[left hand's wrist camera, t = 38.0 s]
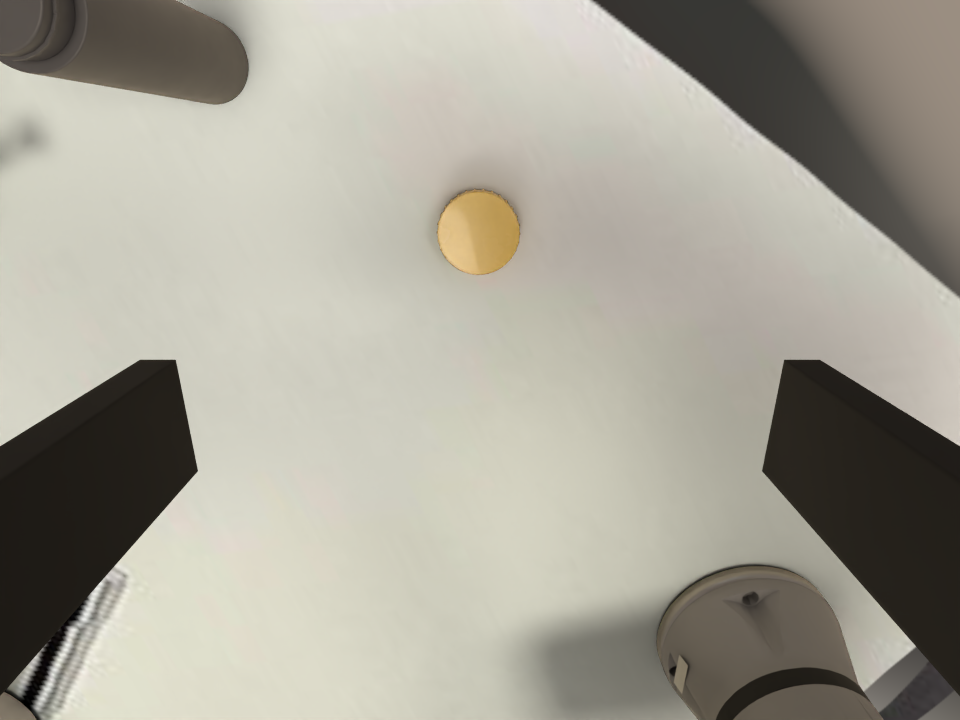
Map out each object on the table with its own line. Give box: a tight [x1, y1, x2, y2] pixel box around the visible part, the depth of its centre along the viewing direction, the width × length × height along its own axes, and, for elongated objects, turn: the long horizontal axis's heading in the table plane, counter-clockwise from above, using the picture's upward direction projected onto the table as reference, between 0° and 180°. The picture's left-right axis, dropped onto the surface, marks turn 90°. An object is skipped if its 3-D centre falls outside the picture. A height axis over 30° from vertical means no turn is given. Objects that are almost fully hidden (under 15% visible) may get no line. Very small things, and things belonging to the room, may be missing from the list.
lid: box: [437, 189, 520, 275], centre depth 38 cm, size 6×6×2 cm
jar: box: [0, 0, 248, 104], centre depth 27 cm, size 5×5×17 cm
